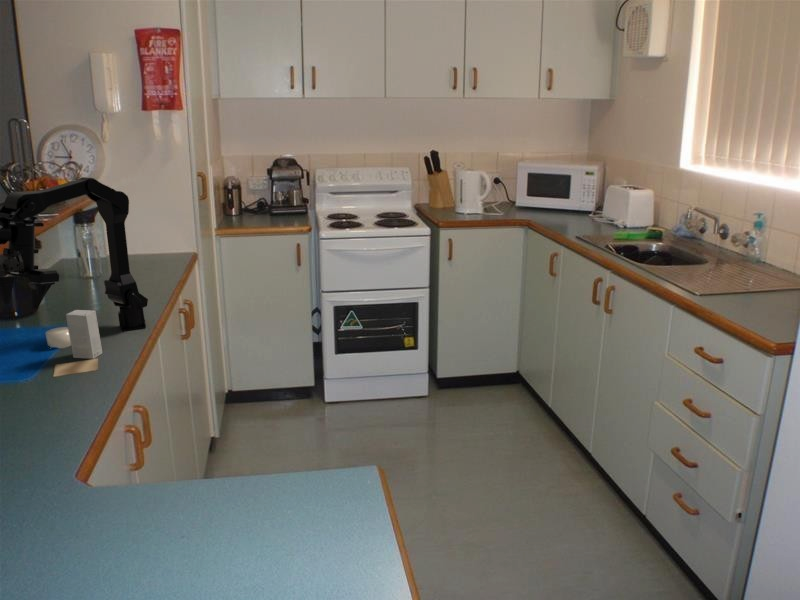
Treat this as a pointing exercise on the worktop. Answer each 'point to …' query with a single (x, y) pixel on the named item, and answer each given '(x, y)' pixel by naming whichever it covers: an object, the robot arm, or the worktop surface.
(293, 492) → the worktop surface
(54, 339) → the beige rounded piece
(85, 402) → the worktop surface
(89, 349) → the skincare box
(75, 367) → the smooth tan tapered shape
